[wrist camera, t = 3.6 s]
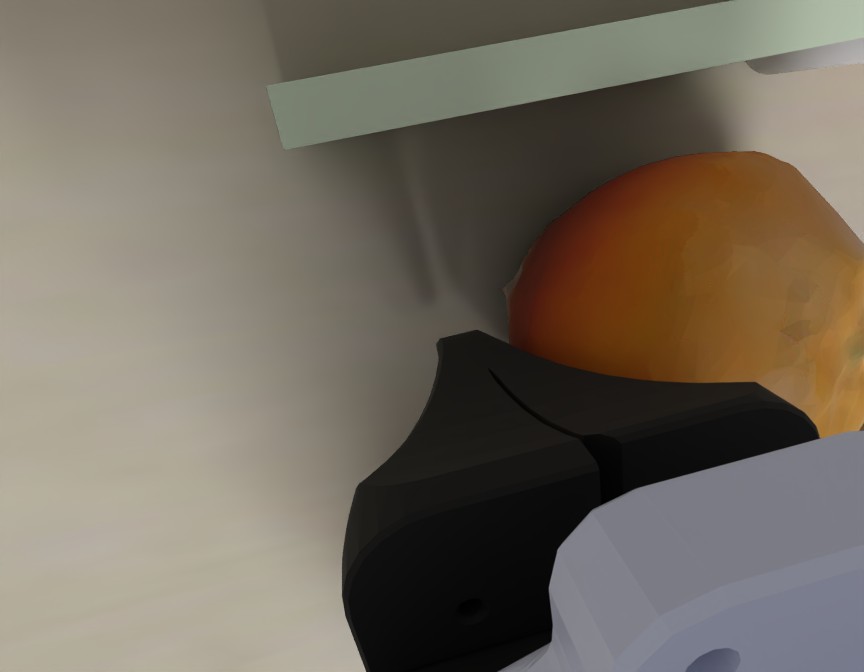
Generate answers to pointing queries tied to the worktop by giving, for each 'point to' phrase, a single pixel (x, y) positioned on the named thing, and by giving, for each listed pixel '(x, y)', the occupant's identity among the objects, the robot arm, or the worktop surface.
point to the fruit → (703, 284)
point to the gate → (569, 65)
